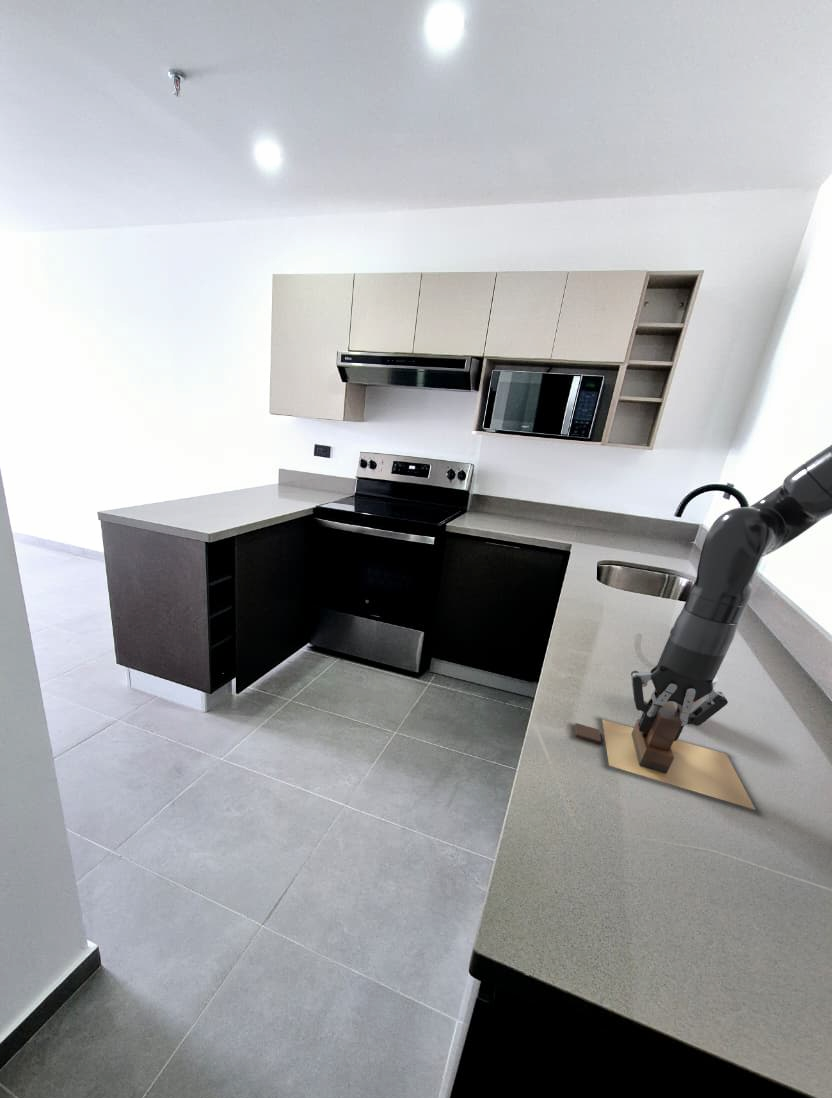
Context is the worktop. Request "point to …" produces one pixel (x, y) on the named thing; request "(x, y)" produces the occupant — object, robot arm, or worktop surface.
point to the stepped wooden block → (658, 739)
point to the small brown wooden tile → (587, 733)
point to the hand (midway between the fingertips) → (655, 736)
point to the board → (680, 766)
